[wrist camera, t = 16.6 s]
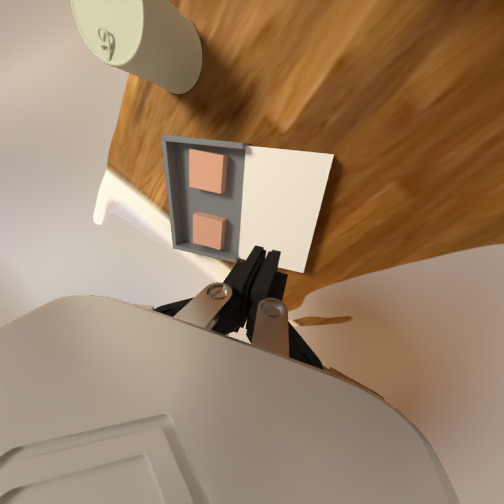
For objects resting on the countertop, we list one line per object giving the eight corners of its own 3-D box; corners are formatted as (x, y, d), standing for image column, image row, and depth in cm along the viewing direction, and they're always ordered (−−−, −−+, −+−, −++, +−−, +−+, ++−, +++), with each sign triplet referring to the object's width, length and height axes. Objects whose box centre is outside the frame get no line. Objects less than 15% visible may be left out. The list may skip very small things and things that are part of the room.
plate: (250, 146, 32) (245, 145, 30) (332, 154, 29) (333, 154, 27) (242, 252, 41) (238, 258, 39) (304, 266, 39) (303, 273, 37)
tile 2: (198, 211, 38) (192, 214, 37) (226, 218, 37) (222, 221, 36) (198, 238, 41) (193, 242, 40) (224, 245, 40) (220, 250, 38)
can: (148, 83, 32) (69, 49, 22) (151, 3, 28) (54, -87, 17) (196, 102, 32) (139, 77, 21) (208, 23, 27) (142, -58, 17)
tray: (176, 136, 35) (160, 134, 31) (250, 144, 32) (242, 142, 29) (184, 241, 44) (173, 248, 41) (242, 253, 42) (235, 262, 38)
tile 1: (195, 149, 33) (189, 148, 32) (228, 155, 32) (223, 155, 31) (195, 185, 36) (189, 186, 34) (225, 191, 35) (220, 193, 33)
